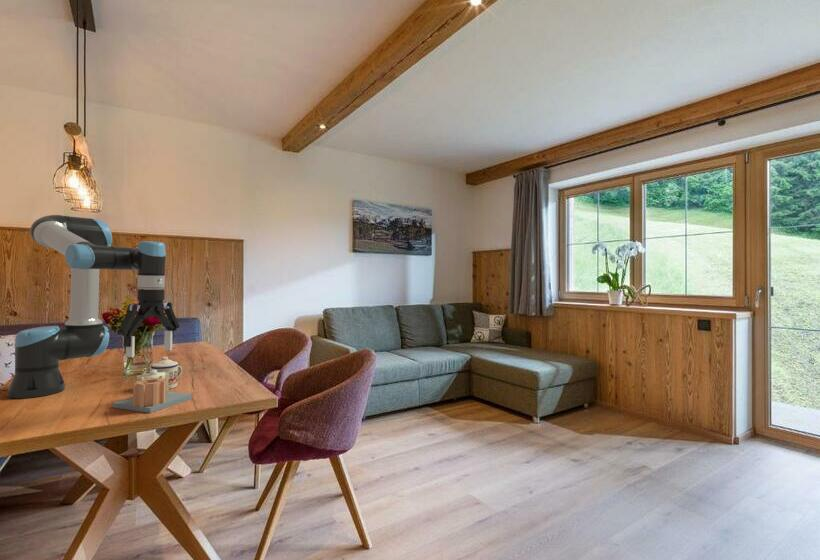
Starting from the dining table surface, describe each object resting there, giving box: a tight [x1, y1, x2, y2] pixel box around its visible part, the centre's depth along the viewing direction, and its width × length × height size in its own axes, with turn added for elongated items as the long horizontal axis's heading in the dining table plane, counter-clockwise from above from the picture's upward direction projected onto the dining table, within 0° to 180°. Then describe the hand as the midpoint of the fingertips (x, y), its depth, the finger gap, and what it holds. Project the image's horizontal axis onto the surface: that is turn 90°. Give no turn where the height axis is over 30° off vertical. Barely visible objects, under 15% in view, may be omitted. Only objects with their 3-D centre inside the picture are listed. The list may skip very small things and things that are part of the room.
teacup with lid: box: [150, 356, 183, 390], centre depth 155 cm, size 12×9×12 cm
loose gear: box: [132, 378, 166, 407], centre depth 131 cm, size 9×9×7 cm
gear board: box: [112, 369, 193, 414], centre depth 135 cm, size 16×16×10 cm
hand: (150, 353), depth 132 cm, fingers open, 13 cm apart
